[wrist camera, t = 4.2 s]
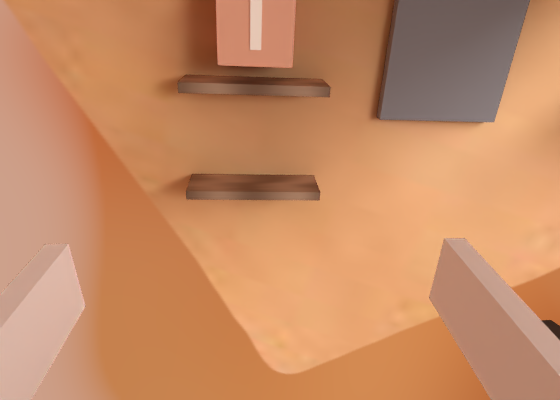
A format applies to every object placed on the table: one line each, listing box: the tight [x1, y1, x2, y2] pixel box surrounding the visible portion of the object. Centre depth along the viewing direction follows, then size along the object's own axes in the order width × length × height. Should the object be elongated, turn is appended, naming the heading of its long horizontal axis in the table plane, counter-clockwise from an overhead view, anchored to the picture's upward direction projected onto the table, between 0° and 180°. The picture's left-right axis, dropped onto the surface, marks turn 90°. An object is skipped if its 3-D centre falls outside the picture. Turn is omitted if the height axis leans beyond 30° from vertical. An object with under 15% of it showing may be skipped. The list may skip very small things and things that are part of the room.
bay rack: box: [178, 75, 330, 200], centre depth 30 cm, size 12×29×4 cm, turn 178°
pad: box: [377, 0, 530, 122], centre depth 33 cm, size 11×11×1 cm
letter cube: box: [216, 0, 296, 68], centre depth 29 cm, size 6×6×6 cm
